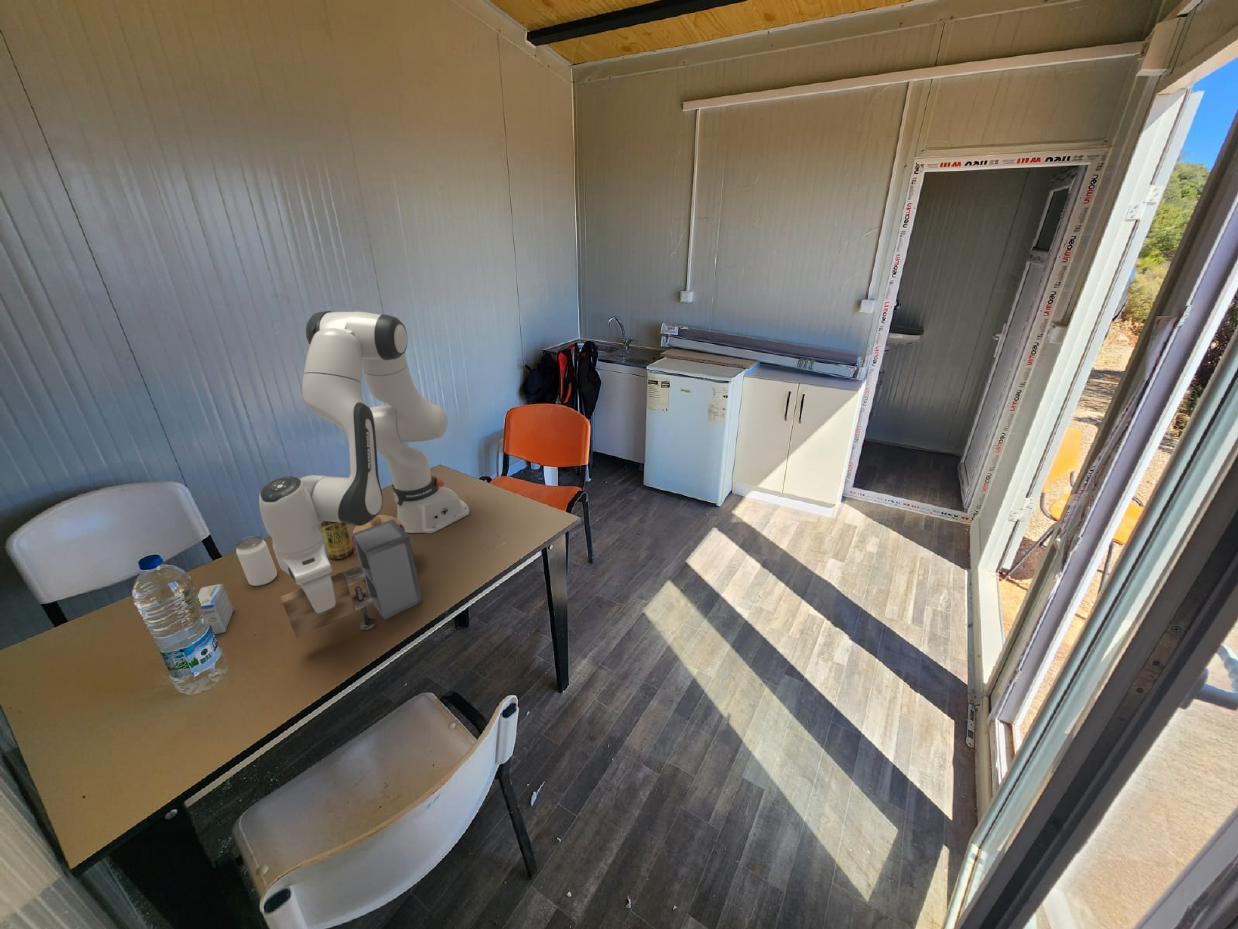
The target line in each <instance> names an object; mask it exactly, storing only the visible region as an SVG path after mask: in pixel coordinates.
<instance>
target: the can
mask: <svg viewBox="0 0 1238 929" xmlns="http://www.w3.org/2000/svg"><path fill="white" fill-rule="evenodd" d="M235 545H236V546H235V547H236V550H235V552H236V555H237V558H238V560H239V563H240V565H241V567H242V568H241V569H242V570H243V573H244V575H245V577H246V580H247V582H248V584H249V585H250V586H253V587H260V586H261V587H262V586H265V585H267V584H270V583H271V582H273V581H274V580H275V579H276V577H277V576H278V572H277V569H276V566H275V564H274V563H275V562H274V560H273V558H272V555H271V553H270V549H269V547H268V544H267V542H266V541H265V540H264V539H263V537H262V536H260V535H253V536H248V537H245V538H243V539H241V540H240V541H238V542H237V543H236V544H235Z"/></svg>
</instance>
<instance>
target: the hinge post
mask: <svg viewBox="0 0 1238 929" xmlns="http://www.w3.org/2000/svg"><path fill="white" fill-rule="evenodd" d="M354 591H355V594H356V595H357V599H358V601H357V603H358V602H360V601H362V600H365V598H363V595H362V587H361V586H360V585H357V586H355V587H354ZM360 612H361V616H362V619H363V620H362V621H361V622H360V623H359V629H360V630H362V631H369V630H371V629H373V628H375V626H376V625H377V621H376V619H375V618H371V617H370V616H369V613H368V608H367V606H365V607H363V608H361V609H360Z"/></svg>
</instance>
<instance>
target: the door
mask: <svg viewBox="0 0 1238 929" xmlns="http://www.w3.org/2000/svg"><path fill="white" fill-rule="evenodd" d="M330 576H331V580H332V584H333V589H334V594H335V599H336V604H335V606H334V607H333V608H331V609H329V610H326V611H324V612H322V613H316V612H315V610H314V608H313V607H312V605H311V603H310V601H309V599H308V598H307V596H306V594H305V592H304V590H303V589H302V587H300V588H299V589H296V590H294V591H291V592H289V593H286V594H283V595H281V596H280V600H281V603H282V606H283V607H284V610H285V613H286V615H287V618H288V621H289V624H290V626H291V629H292V631H293V632H292V633H293V634H294V637H295V638H296V639H298V638H301V637H303V636H305V635H308V634H309V633H312V632H313V631H316V630H318V629H321V628H323V627H325V626H327V625H330V624H331V623H334V622H336V621H338V620H340V619H343V618H345V617H347V616H350V615H352V614H354V613H356V611H359V610H361V608H363V607H365V606H366V607H367V606H369V605H372V604H373V601H372V598H371V596H370V595H369V592H368V589H365V590H363V591H362V590H361V591H362V595H363V598H364V600H362V601H360V602H358V599H357V595H356V593H355V594H353V595H351V591H350V588H349V586H352V585H354V584H357V583H360V582H361V581H365V580H364V579H366V575H365V573H364V571H363V570H362V568H361V567H360V566H359V565H356V566H355V567H354V566H353V567H352V568H349V569H347V570H345V571H342V572H339V573H337V574H334V575H330Z"/></svg>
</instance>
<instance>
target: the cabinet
mask: <svg viewBox="0 0 1238 929" xmlns="http://www.w3.org/2000/svg"><path fill="white" fill-rule="evenodd" d="M352 537H353V538H354V541H355V545H356V549H357V552H358V556H359V560H360V563H361V567H362V570H363V571H364V573H365V575H366V579H365V580H364V581H365V584H366V590H367V592H368V593H369V595H370V596H371V598H372V601H373V603H372V604H373V606H374V607H375V608H376V610H377V611H378V612H379V614H380V616H381V617H382V619H383V620H385V621H386V620H388V619H389V618H391V617H394V616H396V615H398V614H400V613H402V612H404V611H407V610H409V609H411V608H413V607H415V606H417V605H419V604H421V603H423V596H422V591H421V587H420V582H419V578H418V573H417V569H416V568H417V567H416V563H415V558H414V553H413V549H412V544H411V539H410V536H409V535H408V534H407V532H404V531H403V530H402V528H401V527H400V526H399V525H398V524H397V523H396V522H395V521H394V520H393V519H392V520H390V521H387V522H384V523H381V524H378V525H376V526H373V527H370V528H367V529H364V530H361V531H359V532H356V533H353V532H352Z"/></svg>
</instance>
